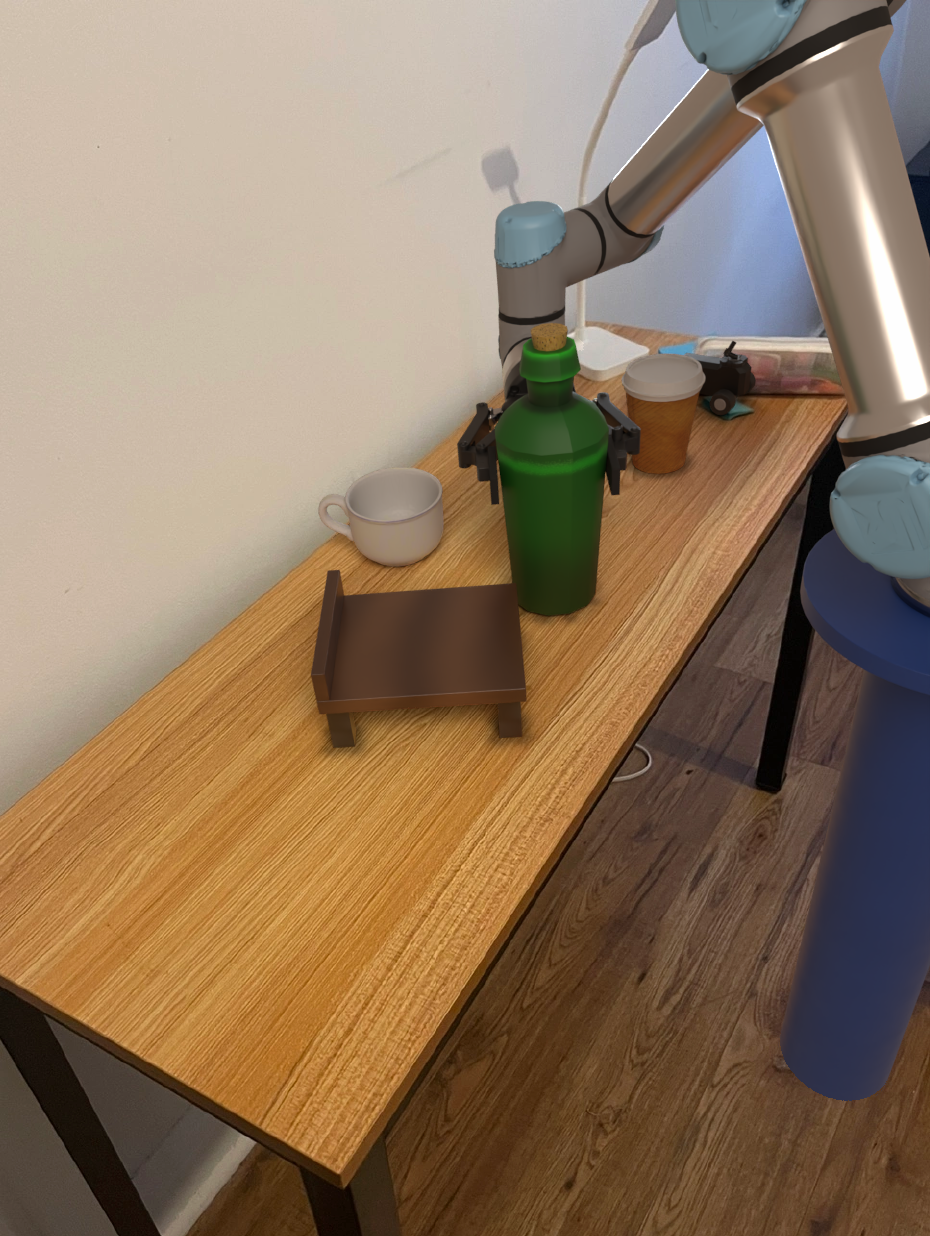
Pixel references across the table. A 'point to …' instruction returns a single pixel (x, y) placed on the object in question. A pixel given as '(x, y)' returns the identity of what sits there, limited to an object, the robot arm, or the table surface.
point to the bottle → (552, 478)
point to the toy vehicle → (725, 378)
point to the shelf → (418, 653)
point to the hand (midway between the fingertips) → (554, 486)
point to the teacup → (390, 515)
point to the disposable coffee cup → (662, 408)
